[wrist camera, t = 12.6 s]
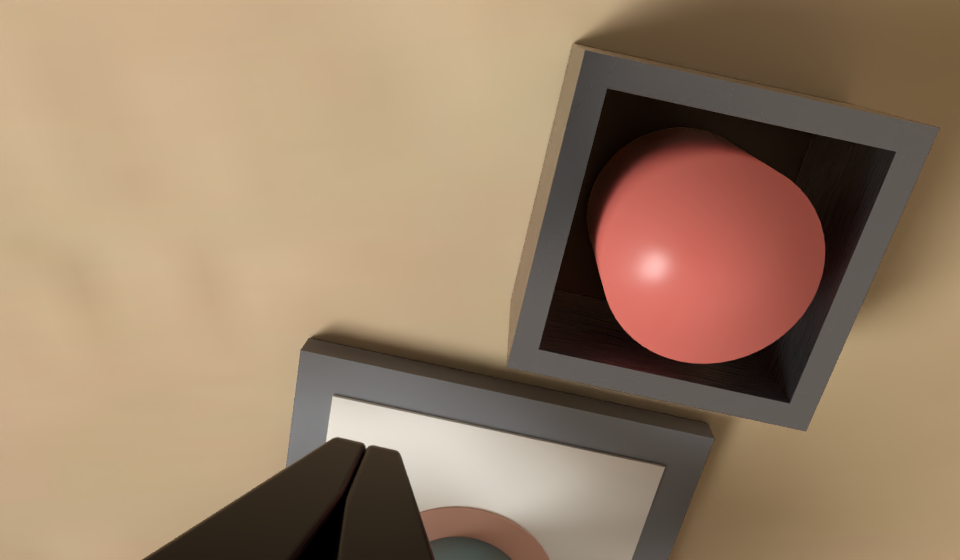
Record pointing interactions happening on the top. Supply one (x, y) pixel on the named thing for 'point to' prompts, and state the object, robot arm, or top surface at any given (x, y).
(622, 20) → the top surface
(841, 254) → the button housing
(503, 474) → the drawing board
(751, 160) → the button
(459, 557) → the cylinder
